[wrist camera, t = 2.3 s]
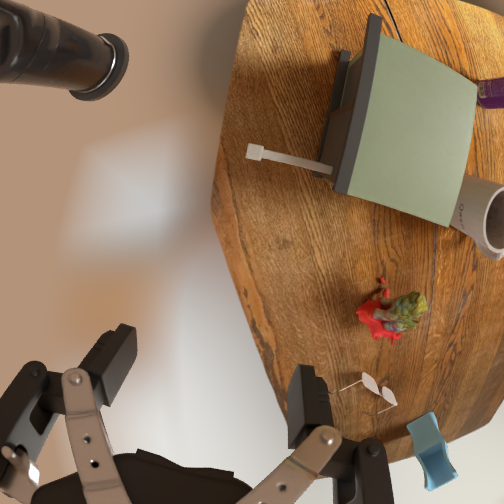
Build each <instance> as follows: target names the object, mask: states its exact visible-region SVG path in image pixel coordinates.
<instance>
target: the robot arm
mask: <svg viewBox="0 0 504 504" xmlns="http://www.w3.org/2000/svg"><path fill="white" fill-rule="evenodd" d="M101 37H102V36H101ZM101 37H98V36H97V35H95V34H92V33H90V32H88V31H86V30H84V29H82V28H79V27H77V26H75V25H73V24H70V23H68V22H66V21H63V20H61V19H58V18H56V17H53V16H50V15H48V14H45V13H42V12H40V11H37V10H34V9H32V8H30V7H28V6H26V5H23V4H20V3H17V2H14V1H11V0H0V83H9V84H25V85H36V86H45V87H53V88H60V89H67V90H73V91H77V92H81V93H90V92H94V91H96V90H98V89H99V88H101V87H102V86H103V85H104V84H105V83H106V82H107V81H108V80H109V79H110V77H111V76H112V74H113V72H114V70H115V67H116V64H117V59H118V53H117V49H116V47H115V45H114V44H113V43H112V42H110V41H108V40H106V39H105V38H104V37H102V38H101ZM136 356H137V336H136V328H135V327H132V326H129V325H126V324H120V325H119V326H118V328H117V329H116V330H115V331H111V330H109V331H107V332H106V333H104V334H102V335H101V337H100V338H99V339H98V340H97V343H95V345H94V346H93V348H91V350H90V351H89V353H88V354H87V355H86V357H85V358H84V359H83V361H82V362H81V364H80V365H79V366H78V367H77V368H71V369H68V370H66V371H65V372H64V373H57V372H51V371H47V369H46V366H45V365H44V364H43V363H41V362H39V361H30V362H28V363H27V364H25V365H24V366H23V368H22V369H21V370H20V372H19V373H18V374H17V376H16V377H15V378H14V380H13V381H12V383H11V384H10V386H9V387H8V388H7V390H6V391H5V392H4V394H3V395H2V397H1V398H0V491H1V492H2V493H4V494H5V495H7V496H8V497H11V498H15V499H16V500H18V501H19V502H21V503H22V504H294V503H295V502H296V500H297V499H298V498H299V497H300V496H301V495H302V494H303V493H304V492H305V491H306V489H307V488H308V487H309V486H310V485H311V484H312V482H313V481H314V480H315V479H316V477H317V475H318V474H320V475H324V476H327V477H331V478H333V504H394V497H393V491H392V484H391V478H390V472H389V466H388V460H387V455H386V450H385V447H384V445H383V444H382V443H381V442H380V441H378V440H377V439H373V438H367V439H364V440H363V441H362V442H361V443H359V442H355V441H352V440H348V439H345V438H343V437H342V436H341V434H340V432H339V431H338V430H337V429H336V428H334V423H333V417H332V411H331V405H330V402H329V401H330V399H329V395H328V394H329V393H328V388H327V384H326V383H325V381H324V380H323V378H322V377H315V370H314V366H310V365H302V364H298V365H297V367H296V369H295V372H294V374H293V376H292V378H291V381H290V383H289V386H288V390H287V415H288V449H295V451H294V452H293V453H292V454H291V455H290V456H289V457H287V458H286V459H285V460H284V461H283V462H282V463H281V464H280V465H279V466H278V467H277V468H276V469H274V470H273V471H272V472H271V473H270V474H269V475H268V476H267V477H266V478H265V479H264V480H263V481H262V482H260V483H259V484H258V485H257V486H256V487H255V488H254V489H252V487H250V486H249V485H248V484H246V483H245V482H243V481H241V480H239V479H237V478H234V477H233V476H234V472H231V471H225V470H219V469H214V468H187V467H182V466H180V465H178V464H176V463H173V462H171V461H170V460H168V459H166V458H164V457H162V456H160V455H157V454H153V453H150V452H147V451H144V450H141V449H137V452H136V453H123V454H117V455H115V454H114V452H113V449H112V447H111V444H110V441H109V438H108V435H107V432H106V429H105V426H104V423H103V419H102V416H101V412H100V409H101V407H102V405H106V406H108V407H110V406H111V404H112V402H113V400H114V398H115V396H116V395H117V393H118V391H119V389H120V387H121V385H122V383H123V381H124V380H125V378H126V376H127V374H128V372H129V370H130V369H131V367H132V365H133V363H134V362H135V359H136ZM59 414H63V415H65V422H66V426H67V431H68V436H69V440H70V444H71V448H72V452H73V456H74V459H75V463H76V467H77V470H78V472H75V473H73V474H71V475H68V476H66V477H63V478H61V479H58V480H55V481H53V482H50V483H48V484H45V485H42V486H40V487H39V485H38V478H39V469H38V467H37V465H36V464H35V462H36V460H37V457H38V455H39V454H40V451H41V449H42V447H43V445H44V443H45V441H46V439H47V437H48V435H49V433H50V431H51V429H52V427H53V425H54V423H55V421H56V420H57V418H58V416H59Z"/></svg>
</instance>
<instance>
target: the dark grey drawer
mask: <svg viewBox="0 0 504 504" xmlns="http://www.w3.org/2000/svg"><path fill="white" fill-rule="evenodd" d="M352 104H353V102H351V103H349V104H347V105H345V106H343V107H341V108H339V109H337V110H335V111H333V112H331V114H330V120H329V125H328V129H327V133H326V138H325V142H324V146H323V150H322V154H321V159H320V162H317V161H313V160H309V159H305V158H301V157H297V156H293V155H289V154H285V153H281V152H277V151H272V150H268V149H265V146H262V145H257V144H251V143H249V144H248V147H247V152H246V156H245V158H248V159H253V160H257V161H260V160H261V159H262V158H265V159H269V160H274V161H278V162H282V163H287V164H291V165H295V166H299V167H303V168H307V169H311V170H314V171H317V173H318V174H319V175H321V176H323V177H324V178H326V179H327V180H329V181H330V182H332V183H334V180H335V176H336V172H337V169H338V165H339V161H340V157H341V152H342V148H343V144H344V140H345V136H346V131H347V127H348V123H349V118H350V113H351V109H352Z"/></svg>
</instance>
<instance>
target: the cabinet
mask: <svg viewBox="0 0 504 504" xmlns="http://www.w3.org/2000/svg"><path fill="white" fill-rule="evenodd" d="M381 27H382V17H380V16H377V15H375V14H372V13H370V14H369V15H368V20H367V27H366V33H365V40H364V46H363V49H362V50H361V51H360V52H359V53H358V54H357V55H356V56H355V57H354V58H353V59H352V60H351V61H350V62H349V58H350V53H351V52H349V51H346V50H343V49H342V50H341V51H340V54H339V59H338V64H337V69H336V74H335V79H334V84H333V89H332V93H331V98H330V103H329V107H328V112H327V116H326V121H325V125H324V129H323V134H322V138H321V142H320V146H319V151H318V155H317V159H316V161H317V162H320V159H321V154H322V150H323V146H324V142H325V138H326V133H327V129H328V125H329V120H330V114H331V112H333V111H335V110H337V109H339V108H341V107H343V106H345V105H347V104H349V103H351V102H353V104H352V109H351V113H350V118H349V123H348V127H347V131H346V136H345V140H344V144H343V148H342V152H341V157H340V161H339V165H338V169H337V172H336V176H335V180H334V183H332V182H330V181H329V180H327V179H326V178H324V177H323V176H321V175H319V174H318V173H317V171H313V176H315V177H319V178H323V179H325V180H326V181H328V182H329V183H331V184H332V185H333V188H332V190H333V191H334V192H338V193H341V194H345V195H347V194H348V195H352V196H355V197H358V198H362V199H365V200H368V201H371V202H375V203H378V204H381V205H384V206H387V207H390V208H393V209H396V210H399V211H402V212H405V213H408V214H411V215H414V216H417V217H420V218H422V219H425V220H428V221H431V222H433V223H436V224H439V225H441V226H444V227H447V228H448V227H449V224H450V221H451V218H452V215H453V212H454V208H455V205H456V202H457V198H458V195H459V191H460V187H461V184H462V180H463V176H464V171H465V167H466V163H467V158H468V153H469V148H470V143H471V137H472V131H473V125H474V118H475V110H476V101H477V89H478V86H477V85H476V84H474V83H473V82H471V81H470V80H468V79H467V78H465V77H464V76H462V75H461V74H459V73H457V72H456V71H454V70H453V69H451V68H449V67H448V66H446V65H444V64H443V63H441V62H439V61H437V60H436V59H434V58H432V57H430V56H428V55H426V54H424V53H422V52H421V51H419V50H417V49H415V48H413V47H410V46H408V45H406V44H404V43H402V42H400V41H398V40H395V39H393V38H391V37H388V36H386V35H384V34H381Z"/></svg>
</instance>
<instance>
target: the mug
mask: <svg viewBox="0 0 504 504" xmlns="http://www.w3.org/2000/svg"><path fill="white" fill-rule="evenodd" d="M450 225H451V226H453V227H454V228H456V229H458V230H460V231H461V232H463V233H465V234H466V235H468V236H470V237H471V238H473V239H474V241H475V243H476V245H477V247H478V248H479V250H480V251H481V252H482V253H483V254H484V255H486V256H487V257H488V258H490V259H491V260H494V261H498V260H500V259H501V258H502V257H503V256H504V185H502V184H499V183H496V182H492V181H489V180H486V179H482V178H479V177H475V176H471V175H468V174H464V176H463V180H462V184H461V187H460V191H459V195H458V198H457V202H456V205H455V208H454V212H453V215H452V218H451V221H450ZM491 250H492V251H493V252H492V251H491ZM494 252H496V253H497V254H496V253H494Z"/></svg>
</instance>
